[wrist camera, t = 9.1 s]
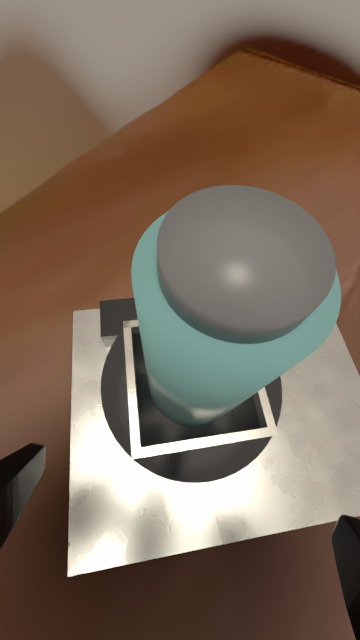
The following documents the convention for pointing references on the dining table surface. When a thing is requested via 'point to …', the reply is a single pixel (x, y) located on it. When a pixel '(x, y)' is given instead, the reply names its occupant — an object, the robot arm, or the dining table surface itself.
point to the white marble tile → (201, 452)
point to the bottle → (230, 298)
